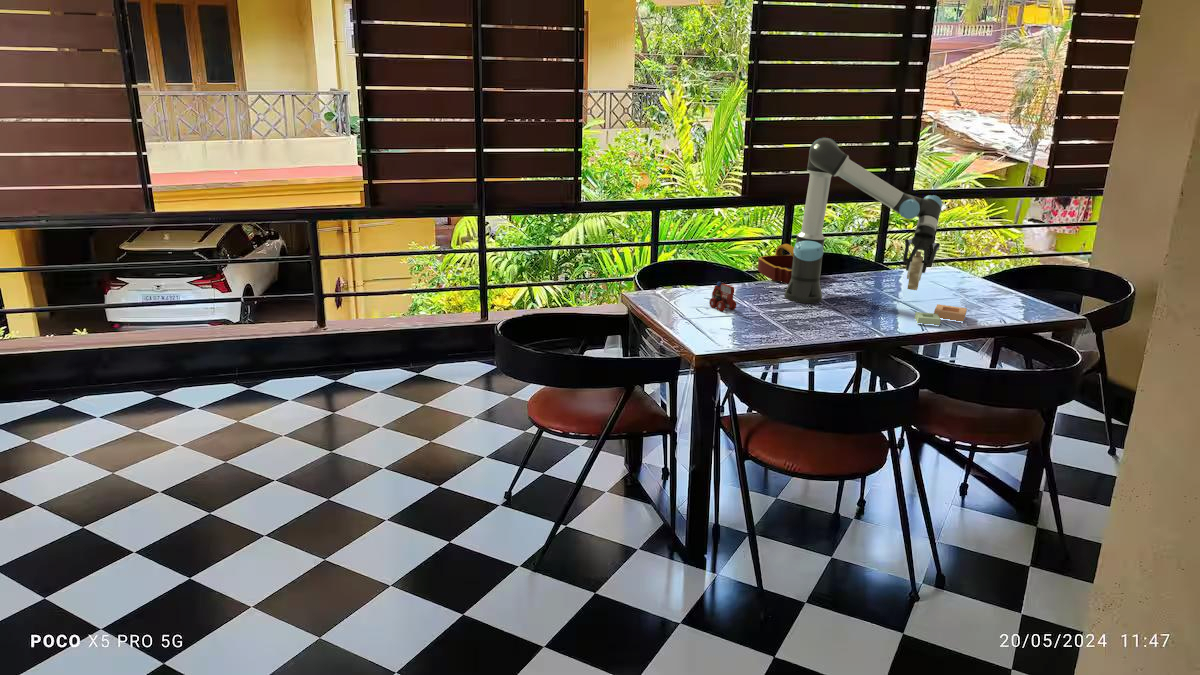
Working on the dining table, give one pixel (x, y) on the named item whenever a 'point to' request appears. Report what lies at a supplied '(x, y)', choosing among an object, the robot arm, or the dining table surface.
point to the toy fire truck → (722, 297)
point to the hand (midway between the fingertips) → (913, 277)
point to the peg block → (915, 271)
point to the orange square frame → (950, 312)
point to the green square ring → (927, 318)
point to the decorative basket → (777, 264)
